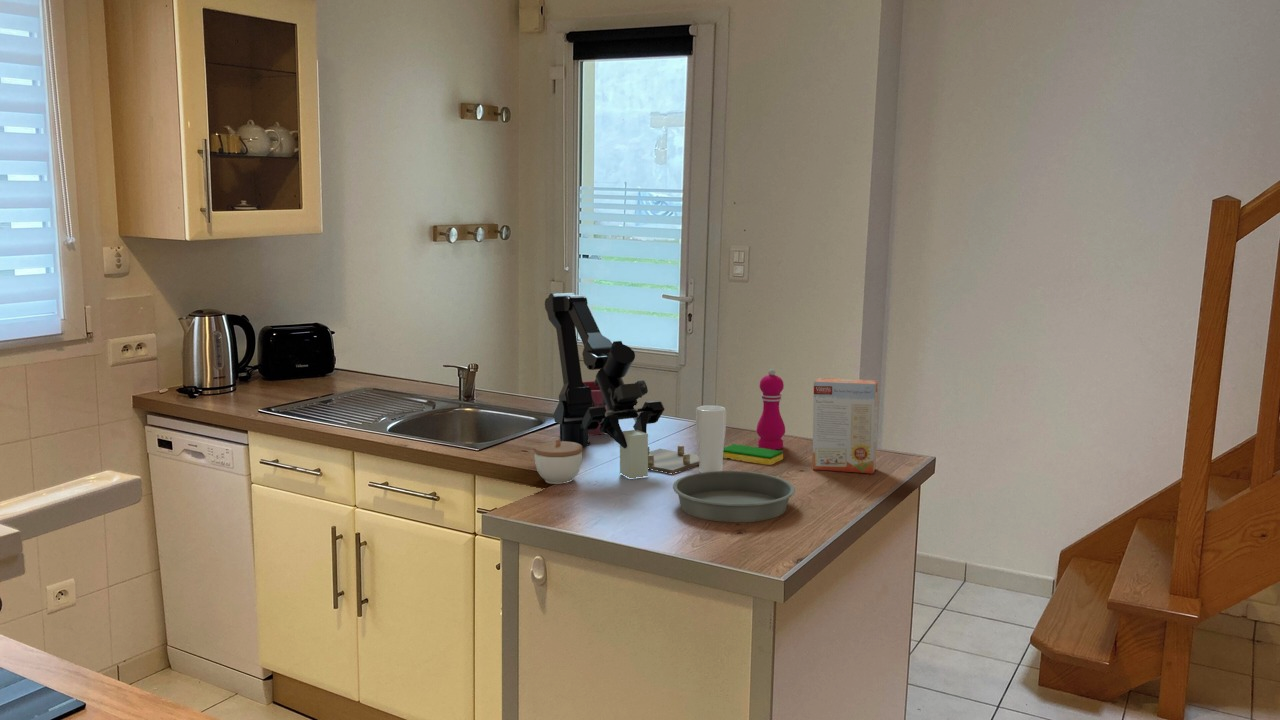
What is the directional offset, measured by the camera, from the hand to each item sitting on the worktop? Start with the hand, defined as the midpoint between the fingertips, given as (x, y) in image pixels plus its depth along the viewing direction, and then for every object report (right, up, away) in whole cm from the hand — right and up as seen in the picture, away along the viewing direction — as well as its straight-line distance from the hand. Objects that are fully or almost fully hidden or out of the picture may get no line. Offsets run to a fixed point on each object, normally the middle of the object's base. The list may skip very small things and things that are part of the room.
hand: (635, 446), depth 224 cm
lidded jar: (-17, -8, -2) cm, 19 cm away
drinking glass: (+17, -7, +5) cm, 19 cm away
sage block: (0, -7, +2) cm, 7 cm away
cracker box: (+48, -6, +7) cm, 49 cm away
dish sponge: (+28, -5, +18) cm, 34 cm away
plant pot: (-11, 0, +48) cm, 50 cm away
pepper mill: (+34, -3, +30) cm, 45 cm away
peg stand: (+7, -5, +14) cm, 16 cm away
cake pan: (+20, -11, -21) cm, 31 cm away
